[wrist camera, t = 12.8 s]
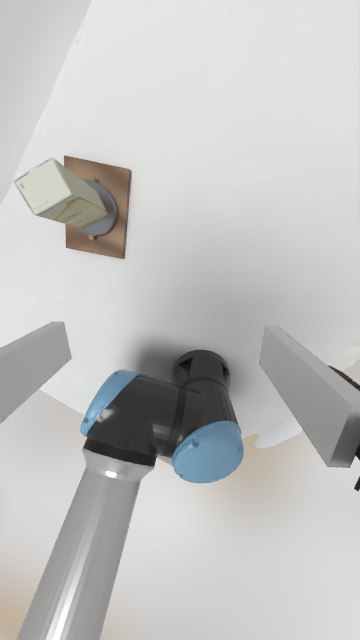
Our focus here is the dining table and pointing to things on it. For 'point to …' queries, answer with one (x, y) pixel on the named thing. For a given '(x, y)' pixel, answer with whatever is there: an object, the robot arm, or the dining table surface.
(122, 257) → the bayonet base
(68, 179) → the skincare box
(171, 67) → the dining table surface
